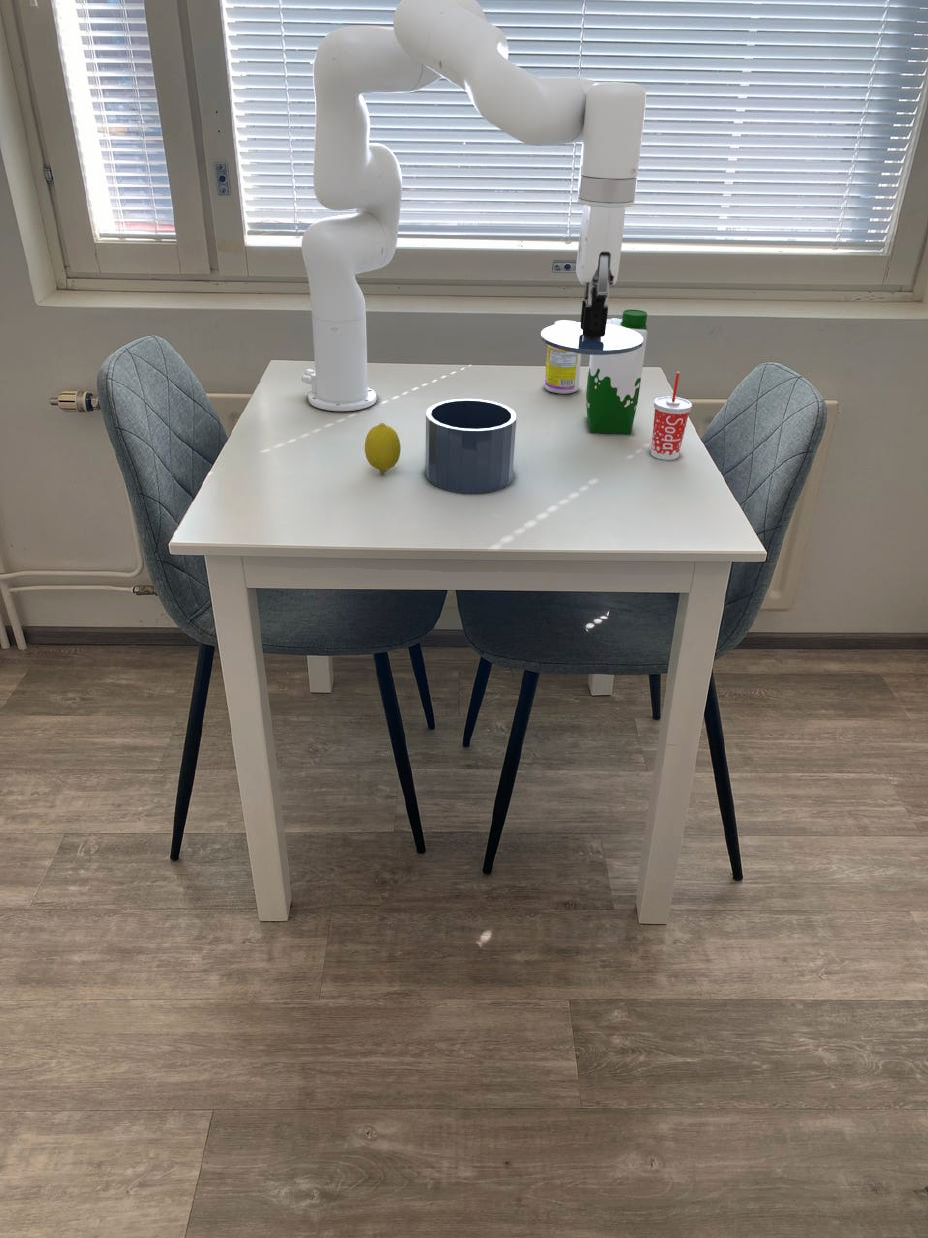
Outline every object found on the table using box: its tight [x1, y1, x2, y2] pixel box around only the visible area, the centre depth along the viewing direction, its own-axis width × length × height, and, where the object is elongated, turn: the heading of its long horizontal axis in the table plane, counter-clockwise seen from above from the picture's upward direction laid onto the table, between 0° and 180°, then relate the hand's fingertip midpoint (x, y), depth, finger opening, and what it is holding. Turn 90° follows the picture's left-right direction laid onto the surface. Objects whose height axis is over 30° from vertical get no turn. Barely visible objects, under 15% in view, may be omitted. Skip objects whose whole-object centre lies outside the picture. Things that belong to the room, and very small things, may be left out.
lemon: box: [364, 422, 402, 473], centre depth 138 cm, size 6×6×8 cm
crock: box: [424, 398, 517, 495], centre depth 138 cm, size 14×14×10 cm
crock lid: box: [540, 302, 643, 356], centre depth 127 cm, size 15×15×6 cm
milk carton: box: [585, 309, 648, 435], centre depth 155 cm, size 9×9×20 cm
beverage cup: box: [650, 371, 693, 461], centre depth 146 cm, size 6×6×14 cm
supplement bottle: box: [544, 319, 582, 395], centre depth 173 cm, size 7×7×13 cm
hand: (592, 331), depth 128 cm, fingers closed on crock lid, 2 cm apart
